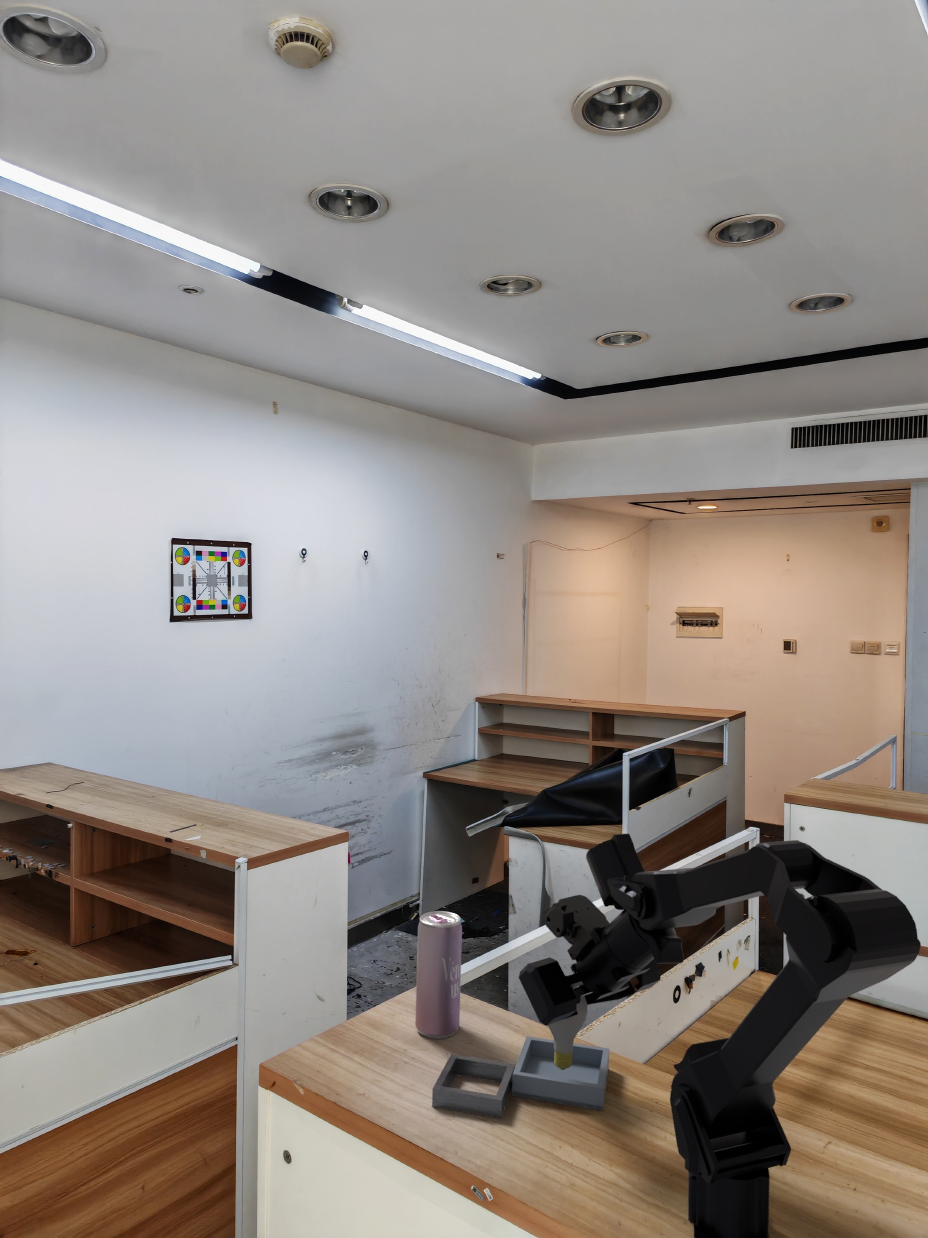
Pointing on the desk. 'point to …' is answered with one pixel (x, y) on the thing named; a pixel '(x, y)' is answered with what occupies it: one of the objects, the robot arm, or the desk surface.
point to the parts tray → (561, 1074)
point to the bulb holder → (469, 1099)
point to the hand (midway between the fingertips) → (556, 1008)
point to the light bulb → (567, 1035)
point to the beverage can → (438, 974)
